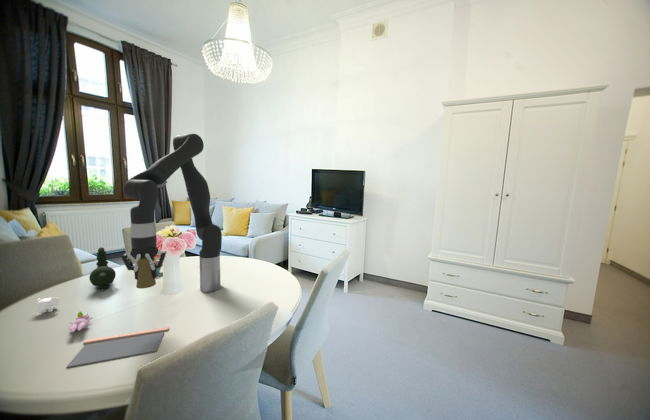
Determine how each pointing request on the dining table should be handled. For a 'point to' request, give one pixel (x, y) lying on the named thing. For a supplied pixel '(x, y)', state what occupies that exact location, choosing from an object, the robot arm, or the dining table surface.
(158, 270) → the cupcake
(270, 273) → the dining table surface
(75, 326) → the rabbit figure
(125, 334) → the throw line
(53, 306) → the elephant figurine
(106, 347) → the mat
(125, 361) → the dining table surface
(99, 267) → the dark green rounded piece
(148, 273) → the cork
